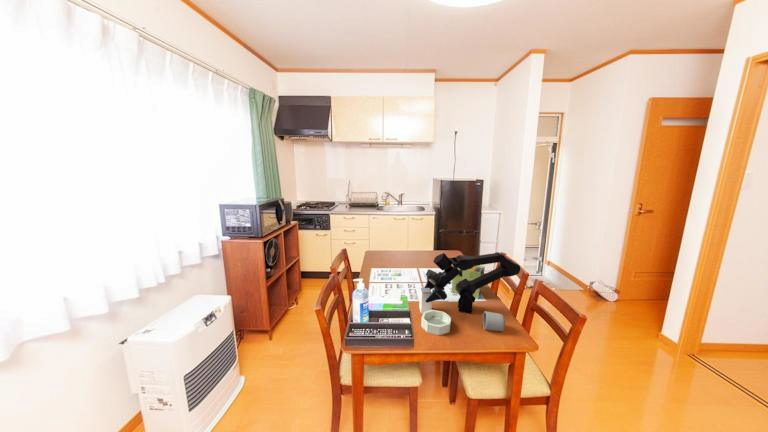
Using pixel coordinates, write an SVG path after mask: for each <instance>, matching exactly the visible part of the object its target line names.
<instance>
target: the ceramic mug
mask: <svg viewBox="0 0 768 432" xmlns="http://www.w3.org/2000/svg"><path fill="white" fill-rule="evenodd" d="M482 326H483V329H484V330H486V331H496V332H503V331H504V330H505V329H506V319H505V316H504V315H503V314H501V313H498V312H492V311H484V312H483V313H482Z"/></svg>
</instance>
